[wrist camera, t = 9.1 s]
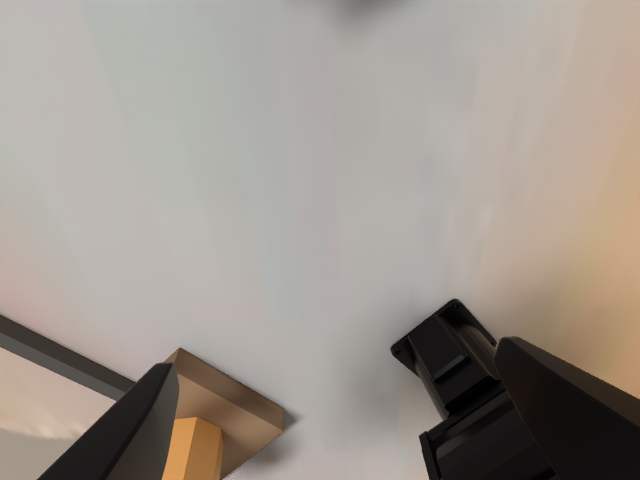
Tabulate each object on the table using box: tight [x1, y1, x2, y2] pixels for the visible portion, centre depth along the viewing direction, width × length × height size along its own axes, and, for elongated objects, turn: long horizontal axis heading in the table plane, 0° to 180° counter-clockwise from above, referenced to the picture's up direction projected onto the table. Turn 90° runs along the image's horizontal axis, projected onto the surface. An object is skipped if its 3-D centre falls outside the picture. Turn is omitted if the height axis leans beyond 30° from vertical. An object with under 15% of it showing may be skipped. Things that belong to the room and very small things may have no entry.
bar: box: [0, 316, 135, 401], centre depth 20 cm, size 16×1×1 cm, turn 43°
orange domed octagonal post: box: [162, 417, 224, 480], centre depth 21 cm, size 5×5×5 cm
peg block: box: [163, 348, 284, 480], centre depth 23 cm, size 10×10×6 cm
